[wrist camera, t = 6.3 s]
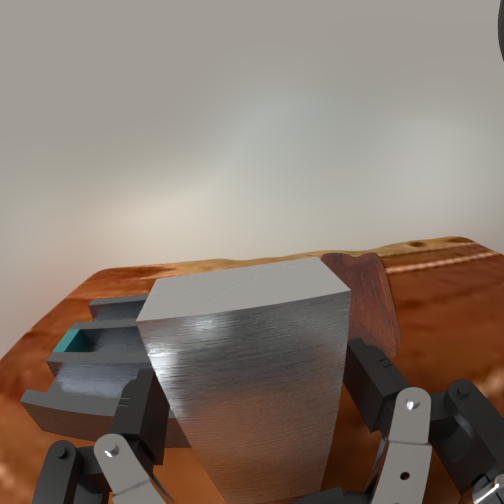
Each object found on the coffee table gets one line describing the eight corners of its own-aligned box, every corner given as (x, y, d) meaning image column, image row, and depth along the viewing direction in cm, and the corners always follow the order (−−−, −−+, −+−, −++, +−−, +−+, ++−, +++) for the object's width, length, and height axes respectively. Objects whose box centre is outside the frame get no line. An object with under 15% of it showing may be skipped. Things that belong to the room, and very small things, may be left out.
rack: (223, 312, 31) (218, 285, 30) (232, 444, 14) (222, 414, 13) (101, 323, 30) (92, 299, 29) (42, 430, 13) (19, 401, 12)
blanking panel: (309, 459, 12) (317, 256, 8) (319, 491, 10) (350, 290, 6) (226, 472, 12) (156, 279, 8) (229, 506, 10) (135, 321, 6)
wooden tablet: (320, 259, 46) (320, 249, 46) (378, 258, 43) (378, 249, 42) (294, 365, 22) (294, 351, 22) (407, 367, 19) (411, 352, 18)
